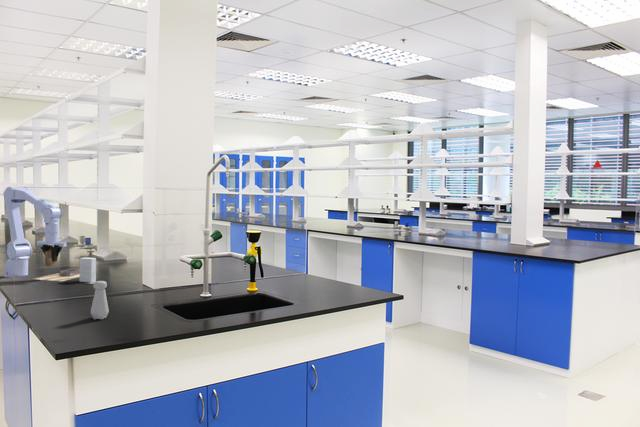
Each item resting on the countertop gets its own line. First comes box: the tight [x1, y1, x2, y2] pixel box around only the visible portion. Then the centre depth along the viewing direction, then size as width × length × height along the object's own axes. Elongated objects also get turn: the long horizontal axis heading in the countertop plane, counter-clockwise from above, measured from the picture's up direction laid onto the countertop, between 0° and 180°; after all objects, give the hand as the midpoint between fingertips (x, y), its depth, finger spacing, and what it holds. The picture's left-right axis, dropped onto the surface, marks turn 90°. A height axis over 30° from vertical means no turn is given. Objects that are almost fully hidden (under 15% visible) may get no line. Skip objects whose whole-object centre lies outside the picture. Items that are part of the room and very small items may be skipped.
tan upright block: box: [44, 251, 58, 268], centre depth 237 cm, size 3×4×7 cm, turn 169°
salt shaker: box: [90, 280, 110, 320], centre depth 174 cm, size 6×6×13 cm
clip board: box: [33, 268, 80, 282], centre depth 245 cm, size 16×22×3 cm
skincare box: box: [78, 257, 97, 285], centre depth 236 cm, size 6×4×12 cm
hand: (51, 261), depth 237 cm, fingers closed on tan upright block, 3 cm apart
